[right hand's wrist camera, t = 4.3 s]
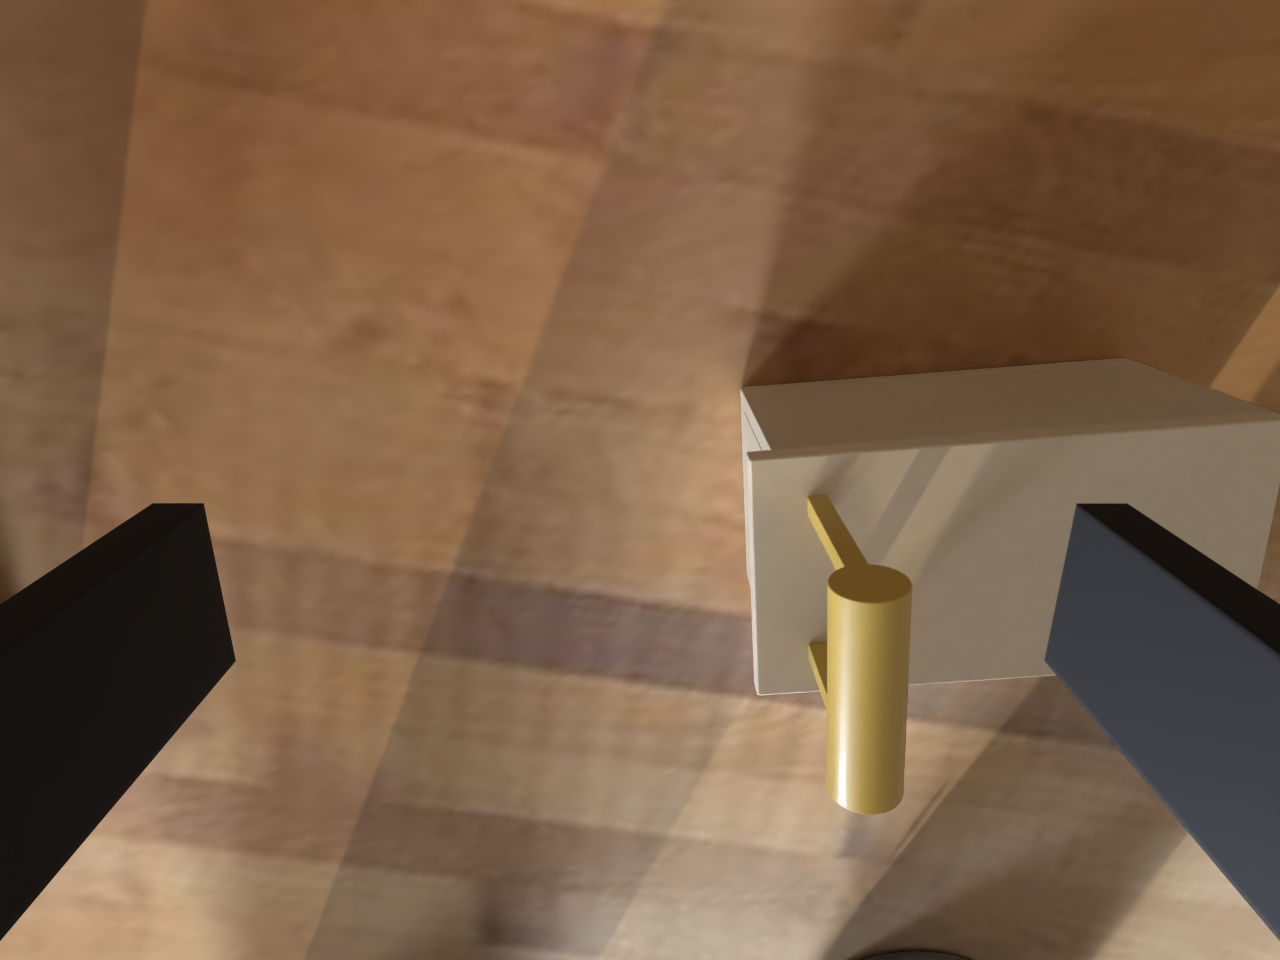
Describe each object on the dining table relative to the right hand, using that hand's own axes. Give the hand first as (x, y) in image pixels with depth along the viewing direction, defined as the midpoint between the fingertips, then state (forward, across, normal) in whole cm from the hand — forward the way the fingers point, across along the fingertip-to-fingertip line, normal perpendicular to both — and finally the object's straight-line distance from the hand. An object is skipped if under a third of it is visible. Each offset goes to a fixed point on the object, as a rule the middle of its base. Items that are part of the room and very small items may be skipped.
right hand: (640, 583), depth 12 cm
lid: (+15, -13, +7) cm, 21 cm away
